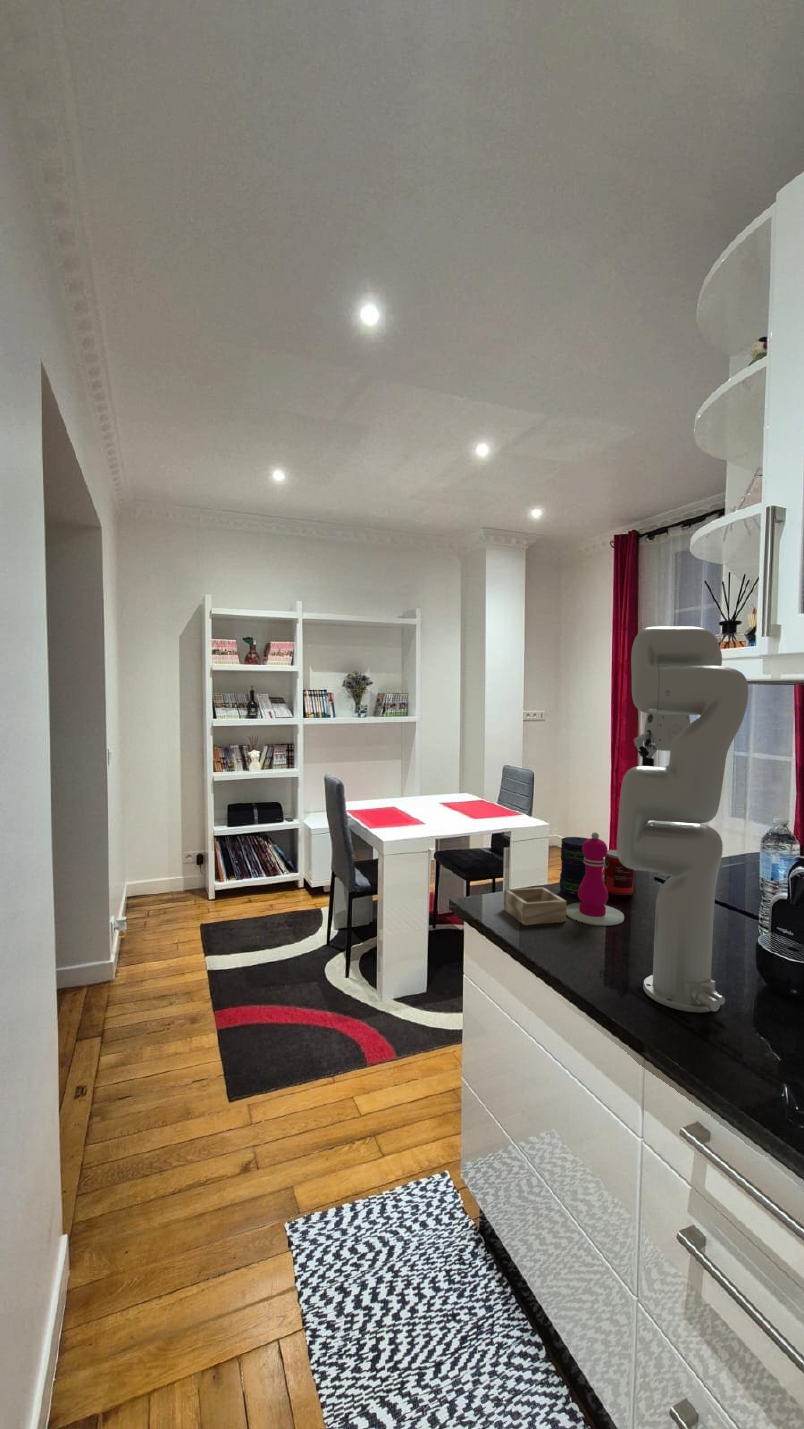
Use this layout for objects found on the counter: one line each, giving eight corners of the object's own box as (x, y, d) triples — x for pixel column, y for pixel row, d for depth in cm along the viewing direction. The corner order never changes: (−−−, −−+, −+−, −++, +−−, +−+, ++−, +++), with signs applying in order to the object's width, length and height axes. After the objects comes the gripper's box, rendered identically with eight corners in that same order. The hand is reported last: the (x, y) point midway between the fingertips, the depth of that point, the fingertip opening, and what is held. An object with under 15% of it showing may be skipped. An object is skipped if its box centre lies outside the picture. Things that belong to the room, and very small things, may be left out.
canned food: (612, 886, 176) (614, 848, 175) (638, 893, 169) (640, 854, 169) (597, 890, 171) (599, 852, 170) (623, 898, 165) (625, 858, 164)
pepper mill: (609, 919, 146) (612, 836, 145) (578, 916, 147) (581, 834, 147) (605, 909, 153) (608, 830, 152) (575, 906, 154) (578, 828, 154)
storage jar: (599, 902, 161) (601, 846, 160) (561, 899, 162) (563, 843, 162) (593, 890, 171) (595, 838, 170) (557, 888, 172) (559, 835, 172)
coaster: (636, 923, 146) (636, 919, 146) (585, 927, 142) (585, 924, 142) (601, 903, 159) (601, 900, 159) (554, 907, 155) (554, 904, 155)
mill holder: (565, 921, 145) (566, 901, 145) (524, 925, 142) (525, 904, 142) (542, 906, 156) (543, 887, 156) (503, 909, 153) (504, 889, 153)
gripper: (647, 701, 137) (644, 777, 137) (710, 703, 142) (706, 776, 142) (626, 701, 144) (623, 772, 144) (686, 703, 149) (683, 772, 149)
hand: (664, 774), depth 143 cm, fingers open, 9 cm apart
